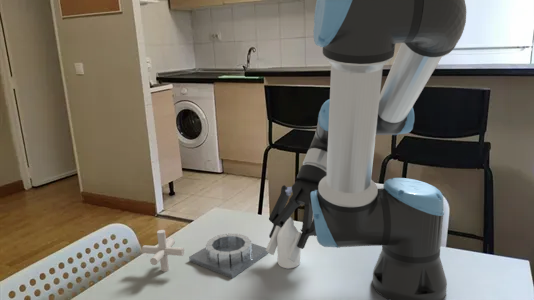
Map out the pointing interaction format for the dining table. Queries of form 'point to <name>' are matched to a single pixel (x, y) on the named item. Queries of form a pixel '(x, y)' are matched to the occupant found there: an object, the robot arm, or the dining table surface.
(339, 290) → the dining table surface
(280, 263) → the white faceted pointed piece
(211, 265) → the collar
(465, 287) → the dining table surface
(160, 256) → the pipe connector
